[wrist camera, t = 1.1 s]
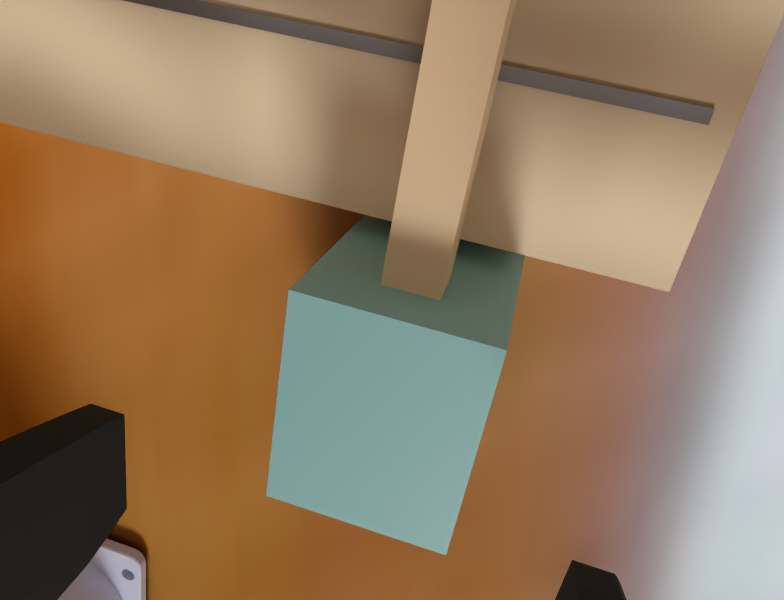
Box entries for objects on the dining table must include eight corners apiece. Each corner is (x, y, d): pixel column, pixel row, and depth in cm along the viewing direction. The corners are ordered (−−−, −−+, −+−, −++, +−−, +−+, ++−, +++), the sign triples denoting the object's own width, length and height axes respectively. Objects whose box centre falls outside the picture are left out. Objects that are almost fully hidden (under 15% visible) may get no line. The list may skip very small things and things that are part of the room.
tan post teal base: (476, 417, 17) (445, 555, 13) (340, 377, 18) (265, 495, 14) (622, -83, 12) (652, -138, 8) (420, -116, 13) (340, -186, 8)
